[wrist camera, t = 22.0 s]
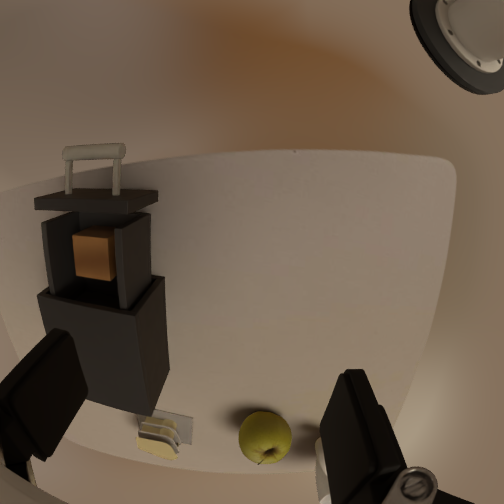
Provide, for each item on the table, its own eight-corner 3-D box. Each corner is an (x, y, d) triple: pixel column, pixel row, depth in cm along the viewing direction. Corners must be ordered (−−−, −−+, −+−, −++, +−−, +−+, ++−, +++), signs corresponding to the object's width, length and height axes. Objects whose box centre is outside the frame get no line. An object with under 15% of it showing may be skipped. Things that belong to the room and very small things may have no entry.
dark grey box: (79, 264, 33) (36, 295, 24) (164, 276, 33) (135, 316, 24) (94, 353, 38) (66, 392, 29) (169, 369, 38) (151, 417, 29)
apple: (249, 443, 41) (242, 480, 31) (237, 407, 42) (226, 443, 32) (295, 436, 41) (297, 473, 31) (285, 399, 41) (286, 434, 31)
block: (93, 225, 30) (72, 234, 25) (126, 227, 30) (107, 238, 25) (95, 261, 31) (76, 275, 27) (127, 266, 31) (110, 281, 27)
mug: (286, 433, 42) (291, 496, 29) (343, 404, 39) (361, 469, 27) (329, 460, 45) (338, 511, 33) (377, 436, 43) (395, 488, 30)
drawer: (76, 147, 28) (34, 148, 21) (161, 144, 28) (130, 140, 21) (82, 290, 34) (50, 318, 26) (158, 303, 34) (136, 338, 26)
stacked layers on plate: (140, 432, 43) (132, 453, 38) (135, 403, 41) (125, 426, 36) (191, 444, 44) (186, 467, 38) (192, 417, 41) (186, 442, 36)
